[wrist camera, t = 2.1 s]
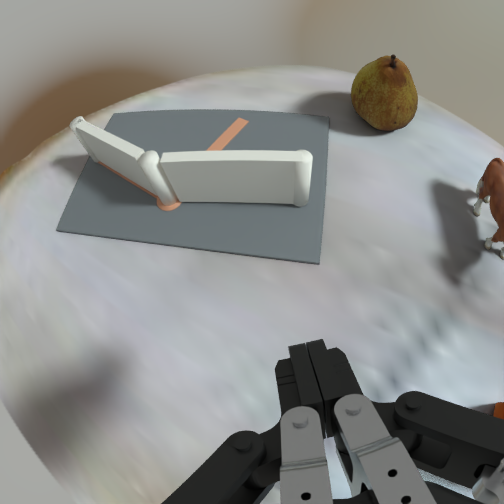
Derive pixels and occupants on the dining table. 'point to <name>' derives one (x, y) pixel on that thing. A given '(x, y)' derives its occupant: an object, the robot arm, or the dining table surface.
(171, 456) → the dining table surface
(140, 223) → the card
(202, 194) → the fence gate
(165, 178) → the fence fixed
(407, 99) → the fruit
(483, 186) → the bull figurine
